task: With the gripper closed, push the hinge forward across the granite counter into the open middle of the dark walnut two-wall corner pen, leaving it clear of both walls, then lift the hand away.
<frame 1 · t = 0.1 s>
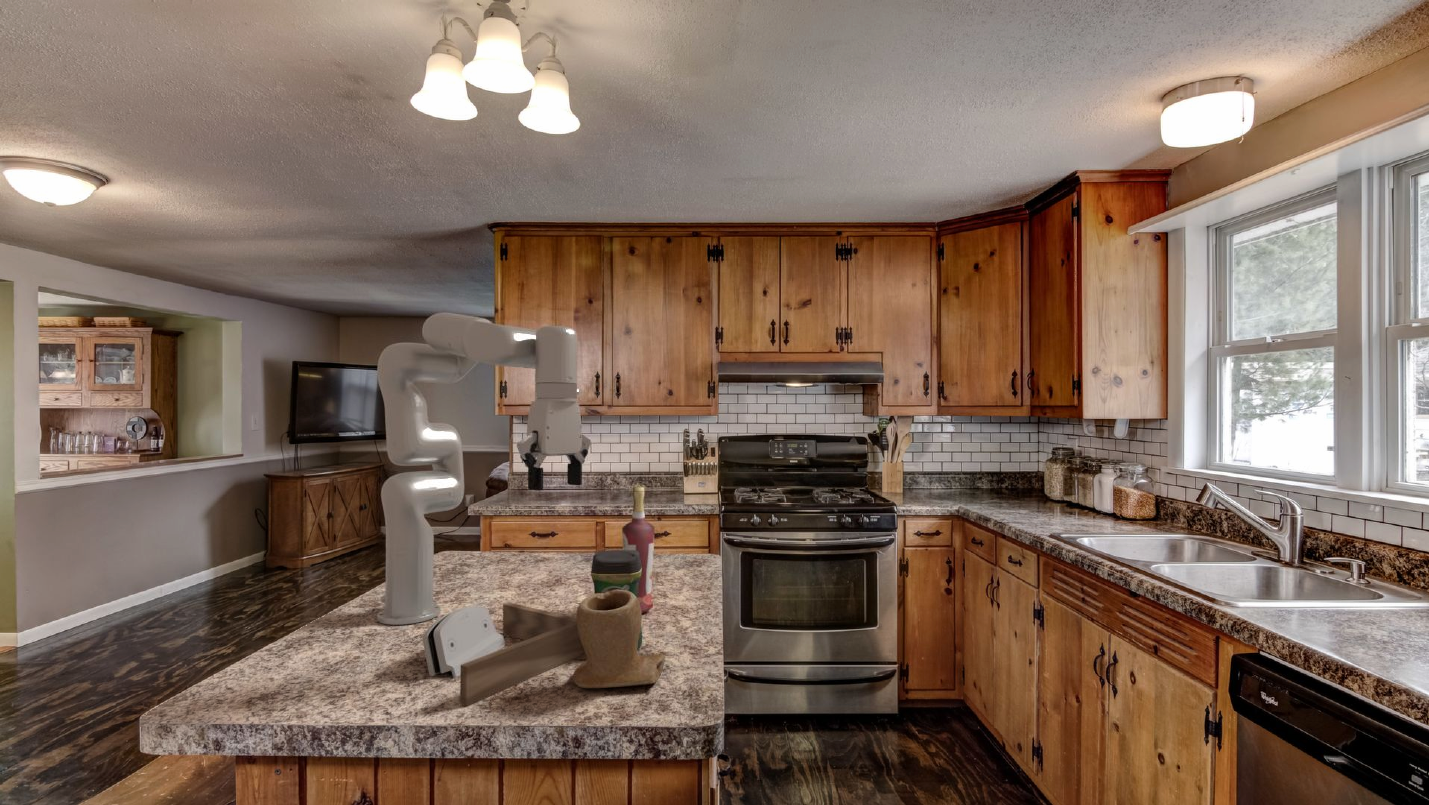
hand: (555, 487, 117), 31 cm above the counter, tool pointing down, fingers open, 9 cm apart
tan boot-shaped piece: (619, 685, 106), on the counter
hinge: (463, 660, 117), on the counter
liquor: (638, 612, 145), on the counter
corner pen: (580, 653, 119), on the counter
coffee jar: (616, 649, 122), on the counter
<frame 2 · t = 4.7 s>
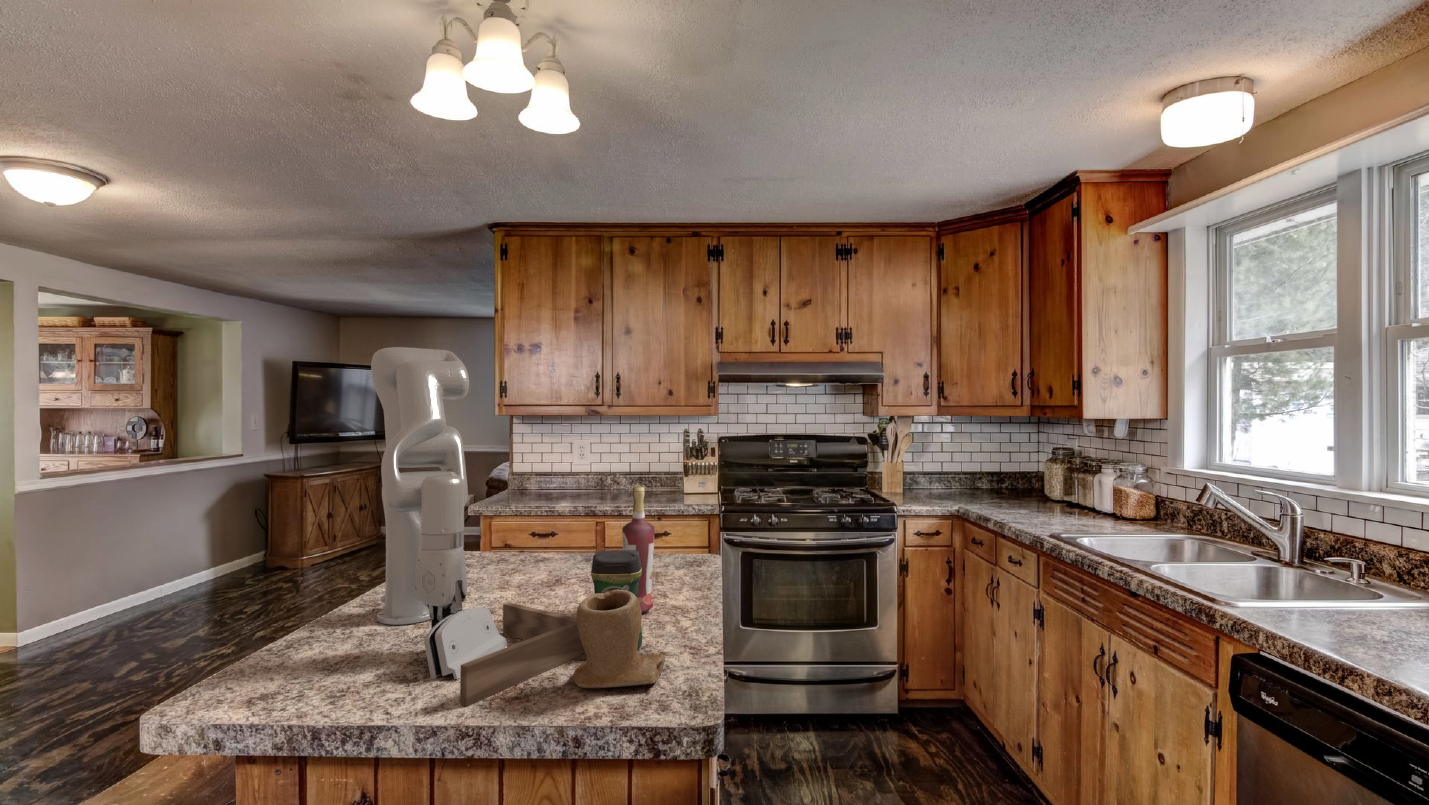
hand: (441, 639, 120), 2 cm above the counter, tool pointing down, fingers closed
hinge: (465, 663, 116), on the counter
everything else where it was.
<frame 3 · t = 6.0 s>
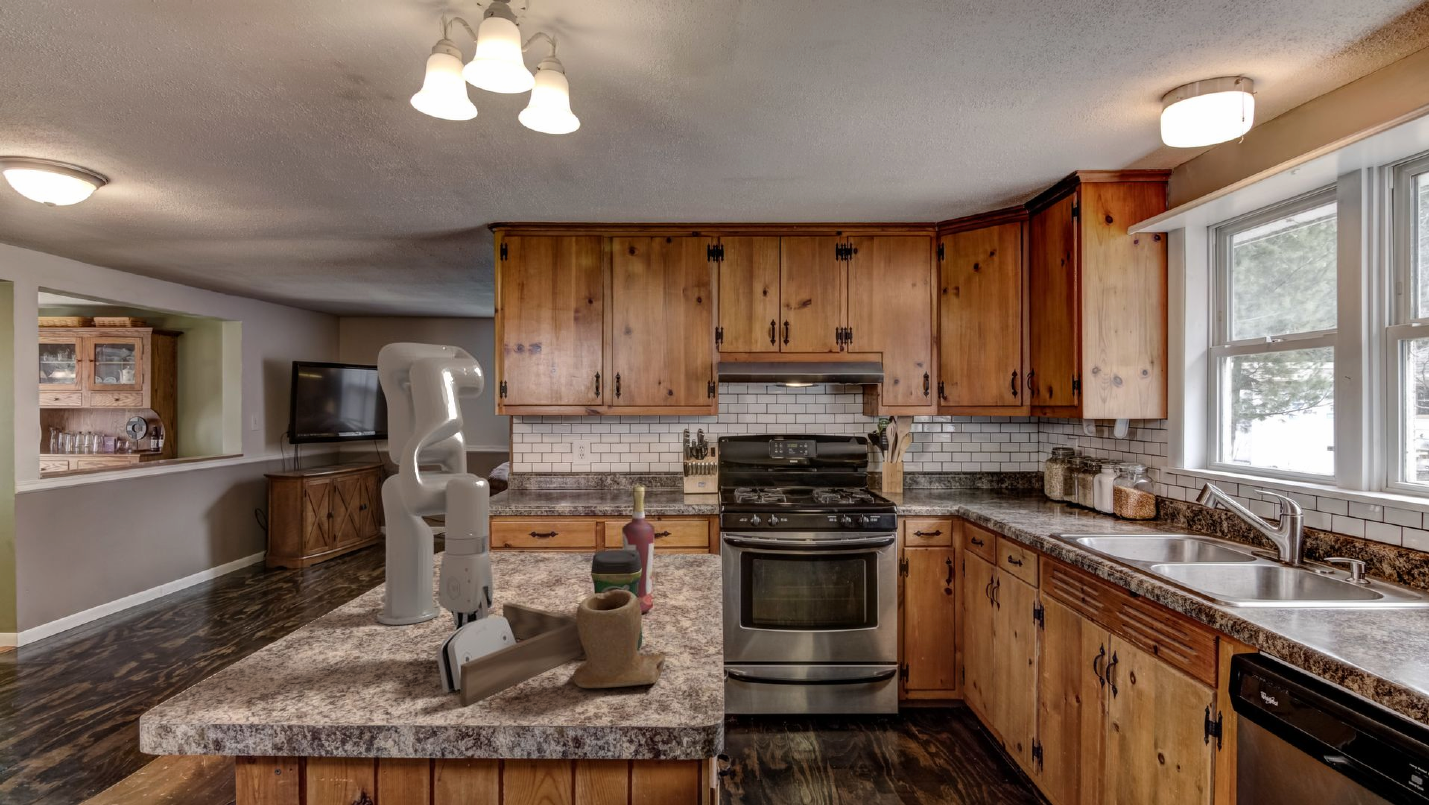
hand: (466, 647, 116), 2 cm above the counter, tool pointing down, fingers closed
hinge: (480, 675, 110), on the counter, touching gripper
everything else where it was.
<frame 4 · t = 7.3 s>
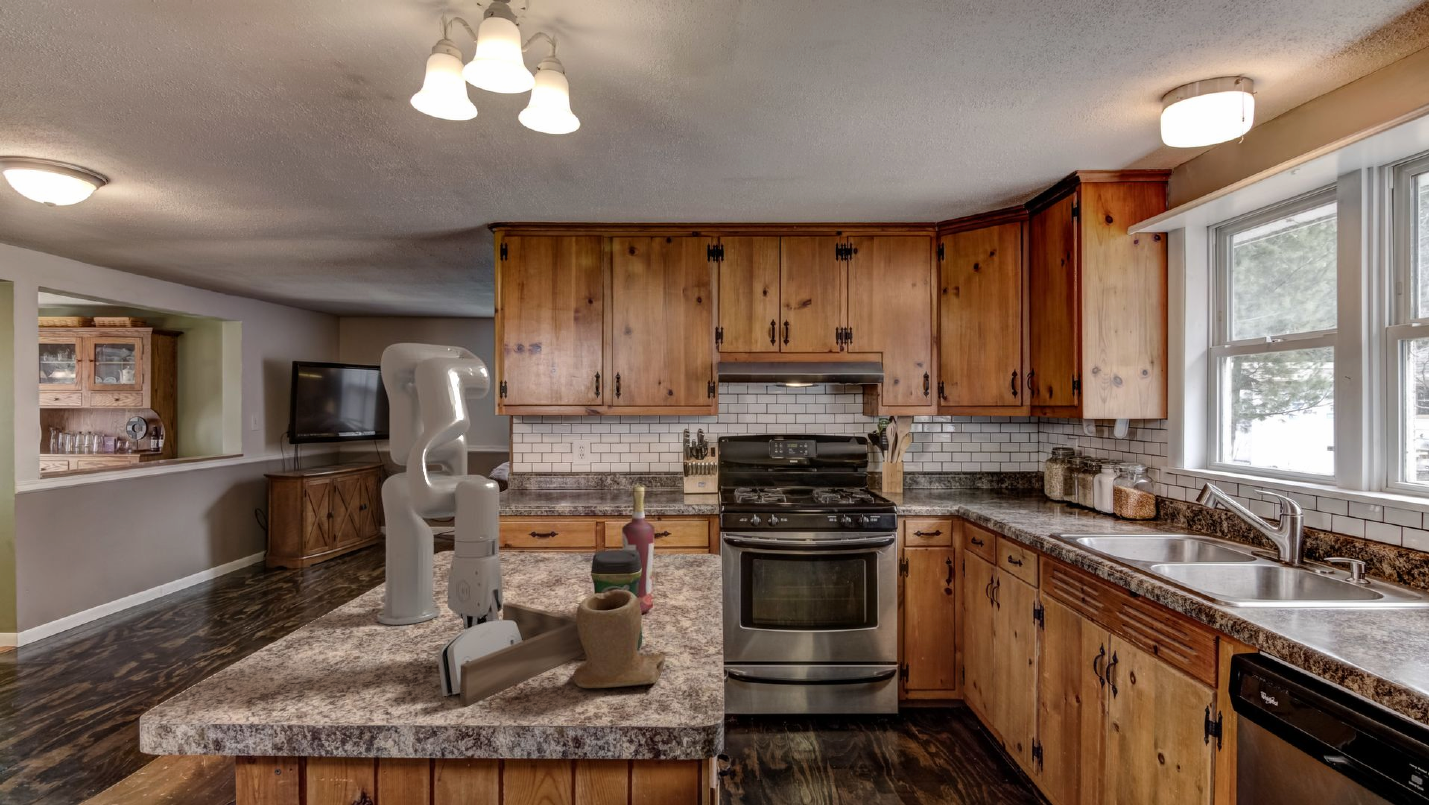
hand: (475, 650, 115), 2 cm above the counter, tool pointing down, fingers closed
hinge: (485, 679, 108), on the counter, touching gripper
everything else where it was.
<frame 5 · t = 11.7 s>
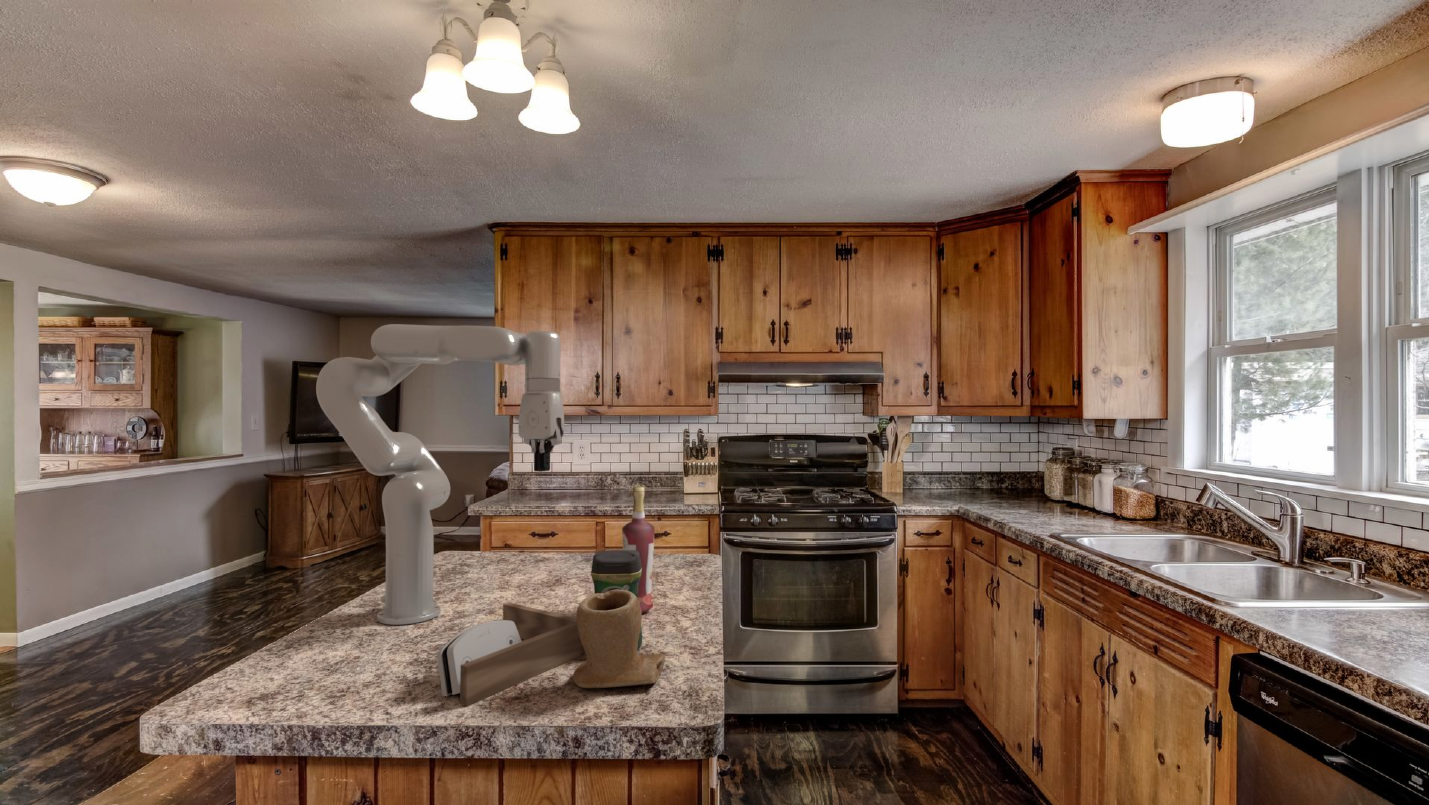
hand: (542, 470, 141), 32 cm above the counter, tool pointing down, fingers closed
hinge: (484, 679, 108), on the counter
everything else where it was.
at the end: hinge inside the target area (3.6 cm from its centre), on the counter; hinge touching counter; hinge tilted 0° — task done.
